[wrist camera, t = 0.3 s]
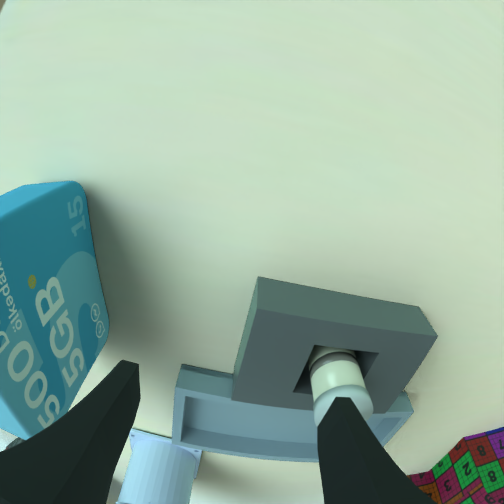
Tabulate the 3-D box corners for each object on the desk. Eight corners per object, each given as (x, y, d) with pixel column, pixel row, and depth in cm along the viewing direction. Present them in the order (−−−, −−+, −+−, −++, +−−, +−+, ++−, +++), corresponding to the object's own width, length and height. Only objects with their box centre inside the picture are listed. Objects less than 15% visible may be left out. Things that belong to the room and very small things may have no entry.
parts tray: (364, 443, 28) (368, 461, 26) (176, 423, 27) (171, 443, 25) (406, 391, 24) (413, 411, 22) (181, 363, 23) (175, 386, 21)
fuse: (339, 359, 23) (357, 432, 16) (297, 353, 22) (306, 430, 16) (356, 324, 21) (383, 399, 15) (312, 317, 21) (327, 395, 15)
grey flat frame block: (374, 382, 24) (384, 413, 21) (234, 365, 23) (230, 400, 20) (418, 306, 21) (437, 336, 17) (257, 276, 20) (256, 308, 17)
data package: (113, 331, 22) (47, 457, 11) (67, 324, 22) (-6, 432, 12) (85, 175, 17) (-63, 257, 6) (34, 179, 17) (-101, 252, 7)
